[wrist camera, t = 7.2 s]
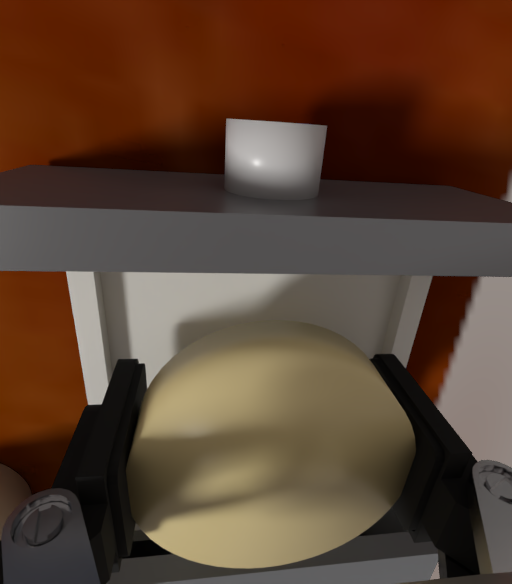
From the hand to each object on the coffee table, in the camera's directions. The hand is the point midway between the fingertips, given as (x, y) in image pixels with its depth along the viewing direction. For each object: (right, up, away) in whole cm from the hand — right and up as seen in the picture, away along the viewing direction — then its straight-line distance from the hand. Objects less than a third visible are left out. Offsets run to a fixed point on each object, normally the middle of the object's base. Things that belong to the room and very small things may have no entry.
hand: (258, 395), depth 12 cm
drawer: (0, +1, +3) cm, 3 cm away
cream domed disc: (0, -1, -1) cm, 1 cm away
